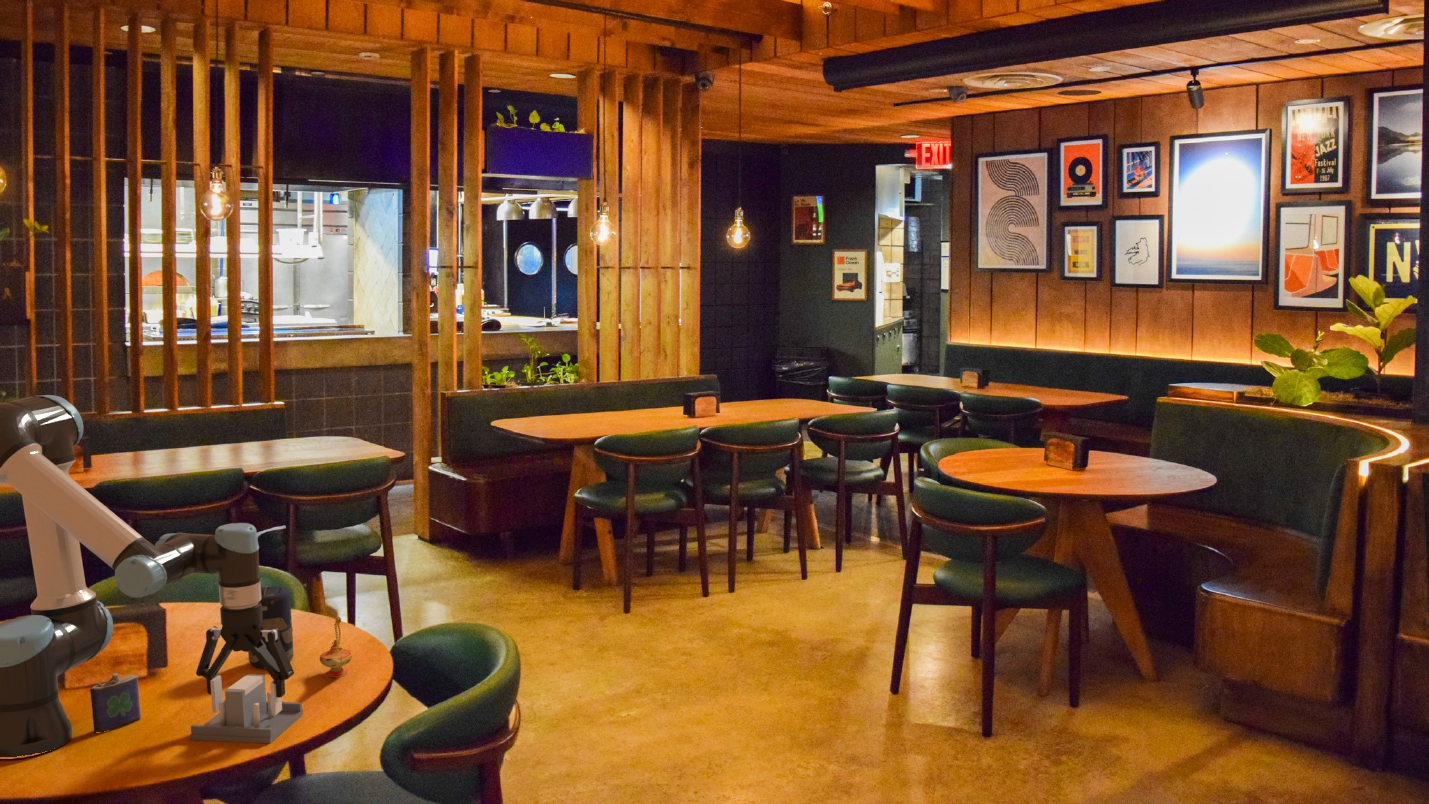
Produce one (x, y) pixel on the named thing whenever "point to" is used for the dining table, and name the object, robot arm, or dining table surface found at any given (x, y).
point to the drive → (245, 700)
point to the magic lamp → (336, 656)
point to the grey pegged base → (257, 733)
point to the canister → (276, 619)
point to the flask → (115, 703)
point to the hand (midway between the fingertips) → (247, 711)
